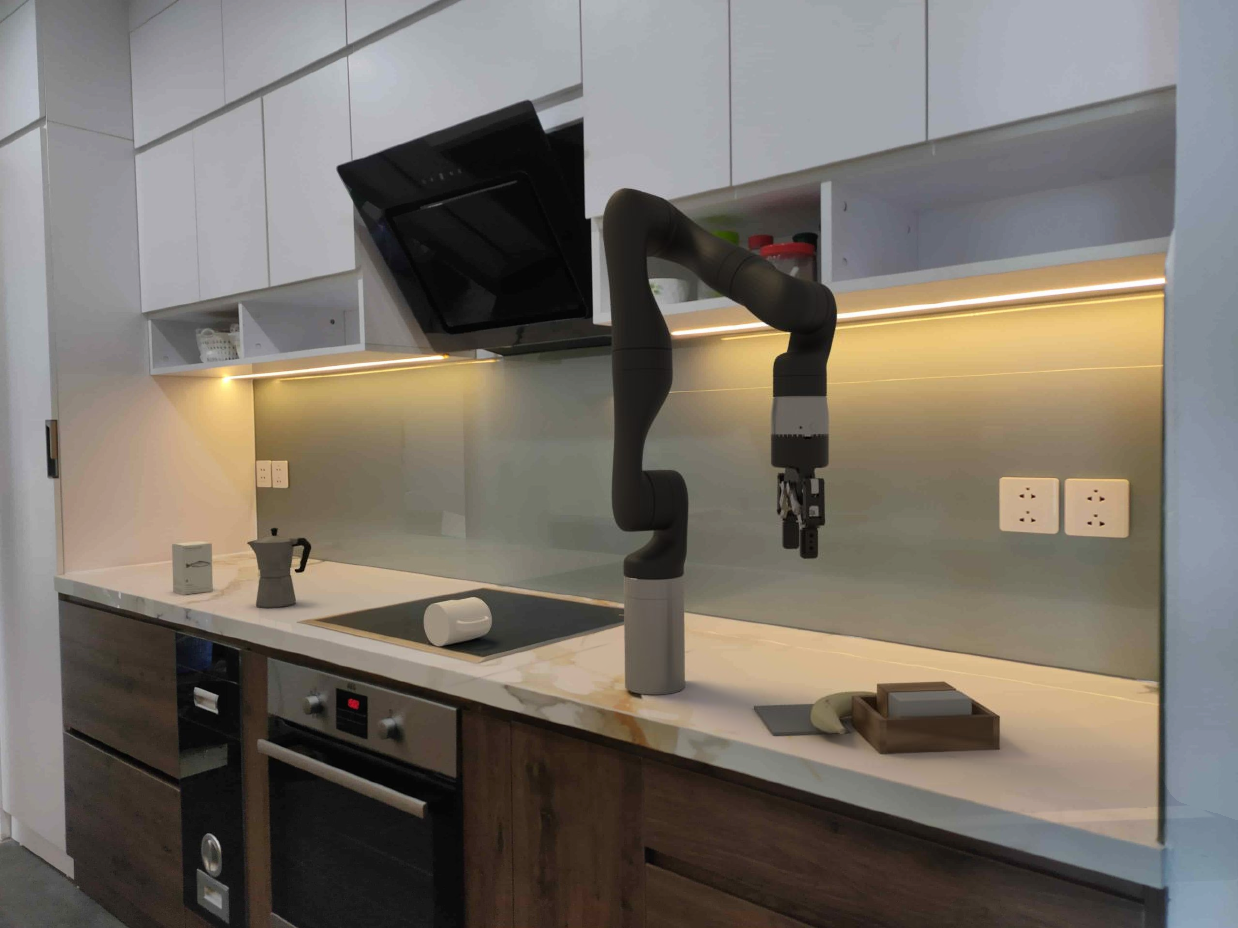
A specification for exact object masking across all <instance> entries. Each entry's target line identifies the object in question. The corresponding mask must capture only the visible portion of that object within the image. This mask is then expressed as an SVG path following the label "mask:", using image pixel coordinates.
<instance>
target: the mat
mask: <svg viewBox="0 0 1238 928" xmlns="http://www.w3.org/2000/svg"><path fill="white" fill-rule="evenodd" d="M814 704H815V703H800V704H798V703H797V704H796V703H795V704H772V705H771V704H770V705H753V710H754V711H755V713H756V714H757V715H758V716H759V718H760V720H761V721H762V722H763V724H764V725H765V726H766V728H767V729H768V731H769V733H770V734H771V735H772V736H774V735H775V736H776V737H777V736H799V735H825V734H826V735H827V734H828V735H829V734H831V733H828V732H825V731H822V730H820V729H818V728H816V727H815V726H814V725H813V724H812V722H811V711H812V707H813V705H814ZM839 720H840V723H841V724H842V726H843V727H844V728H845V729H846V732H845V733H844V734H850V733H851V729H850V728H849V727H848V726H847V724H845V723H844V722H843V721H842V720H841V719H839ZM835 734H838V733H837V732H836V733H835Z"/></svg>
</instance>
